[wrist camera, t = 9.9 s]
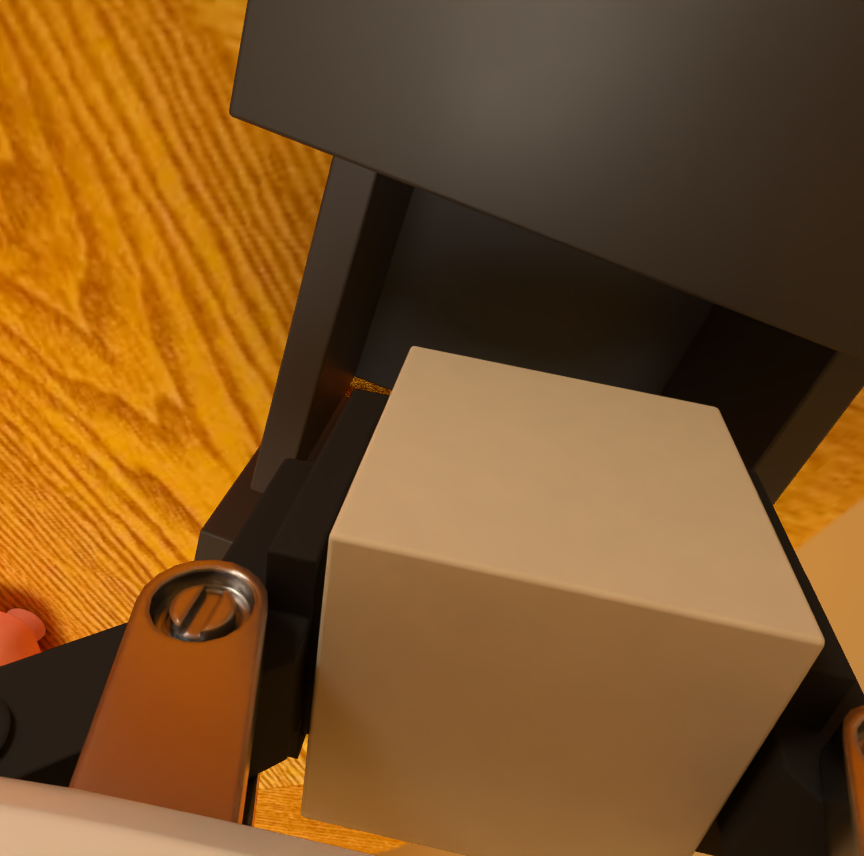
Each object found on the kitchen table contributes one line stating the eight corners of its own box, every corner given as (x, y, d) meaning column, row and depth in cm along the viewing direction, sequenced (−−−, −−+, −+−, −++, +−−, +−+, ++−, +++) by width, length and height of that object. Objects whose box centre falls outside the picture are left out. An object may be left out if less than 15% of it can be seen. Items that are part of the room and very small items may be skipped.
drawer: (567, 613, 26) (574, 821, 19) (270, 505, 25) (168, 678, 18) (878, 120, 17) (1103, 178, 10) (426, -63, 16) (338, -132, 10)
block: (719, 406, 10) (830, 644, 6) (626, 629, 12) (664, 904, 8) (411, 343, 10) (327, 533, 6) (376, 574, 12) (298, 818, 9)
